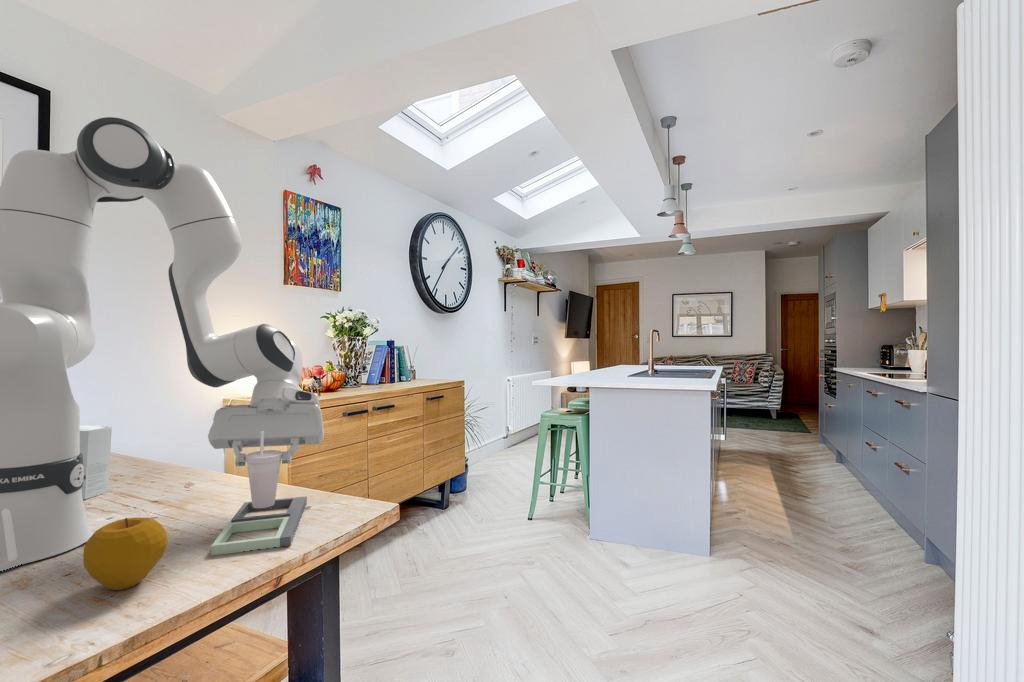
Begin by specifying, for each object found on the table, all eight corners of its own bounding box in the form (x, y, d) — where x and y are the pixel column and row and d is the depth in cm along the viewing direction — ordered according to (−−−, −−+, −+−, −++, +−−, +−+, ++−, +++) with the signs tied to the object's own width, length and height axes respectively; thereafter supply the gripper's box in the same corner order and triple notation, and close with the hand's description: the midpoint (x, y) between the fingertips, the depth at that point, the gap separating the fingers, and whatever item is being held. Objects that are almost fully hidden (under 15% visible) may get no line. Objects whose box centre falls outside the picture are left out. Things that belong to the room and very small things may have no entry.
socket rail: (211, 555, 72) (211, 545, 72) (244, 509, 91) (244, 502, 91) (290, 545, 75) (290, 536, 75) (306, 503, 95) (306, 496, 95)
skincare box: (48, 499, 98) (48, 429, 98) (76, 490, 104) (76, 424, 104) (86, 500, 97) (86, 429, 98) (112, 491, 103) (112, 424, 104)
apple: (184, 571, 67) (184, 508, 67) (121, 605, 58) (121, 533, 58) (132, 566, 68) (132, 505, 68) (63, 599, 60) (63, 528, 60)
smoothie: (236, 507, 86) (237, 432, 87) (268, 497, 92) (269, 426, 92) (258, 513, 84) (259, 435, 84) (289, 502, 89) (291, 429, 89)
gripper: (213, 396, 92) (195, 457, 82) (325, 394, 98) (320, 450, 88) (220, 415, 96) (203, 475, 86) (326, 412, 102) (321, 468, 92)
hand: (263, 463), depth 87 cm, fingers closed on smoothie, 6 cm apart
